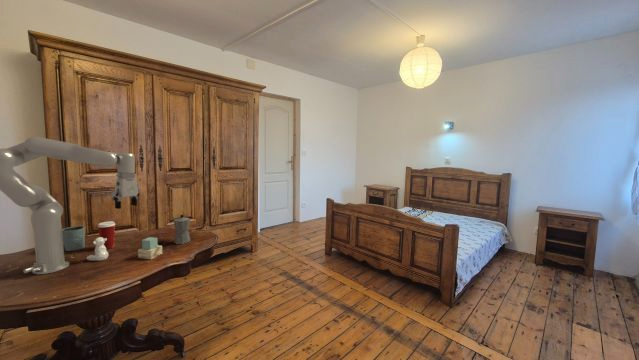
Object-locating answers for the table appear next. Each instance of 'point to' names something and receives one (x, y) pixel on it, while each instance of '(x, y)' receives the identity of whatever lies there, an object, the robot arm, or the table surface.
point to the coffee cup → (107, 233)
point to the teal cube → (149, 243)
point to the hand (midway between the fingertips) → (126, 206)
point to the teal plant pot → (74, 238)
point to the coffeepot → (182, 230)
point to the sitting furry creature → (99, 250)
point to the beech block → (149, 252)
